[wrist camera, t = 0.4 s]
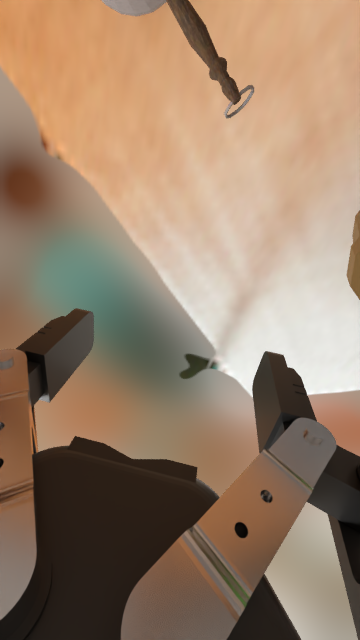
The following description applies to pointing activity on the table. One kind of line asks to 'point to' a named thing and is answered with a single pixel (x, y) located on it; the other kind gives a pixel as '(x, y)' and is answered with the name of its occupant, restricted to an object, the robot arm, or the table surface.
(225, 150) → the table surface
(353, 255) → the flowerpot
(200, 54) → the coffee pot
